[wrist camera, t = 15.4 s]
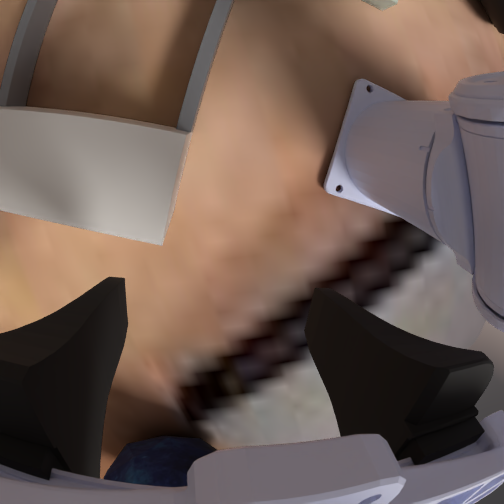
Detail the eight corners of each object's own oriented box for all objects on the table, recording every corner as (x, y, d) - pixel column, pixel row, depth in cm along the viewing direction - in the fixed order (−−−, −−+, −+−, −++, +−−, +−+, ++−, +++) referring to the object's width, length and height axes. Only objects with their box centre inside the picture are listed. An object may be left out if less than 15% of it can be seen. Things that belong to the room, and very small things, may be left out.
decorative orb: (89, 497, 25) (167, 594, 16) (59, 432, 20) (165, 584, 10) (182, 456, 35) (263, 533, 26) (191, 384, 30) (306, 485, 21)
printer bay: (244, -27, 14) (259, -73, 9) (174, 209, 20) (161, 245, 14) (67, -40, 11) (32, -75, 6) (7, 177, 17) (-45, 200, 11)
